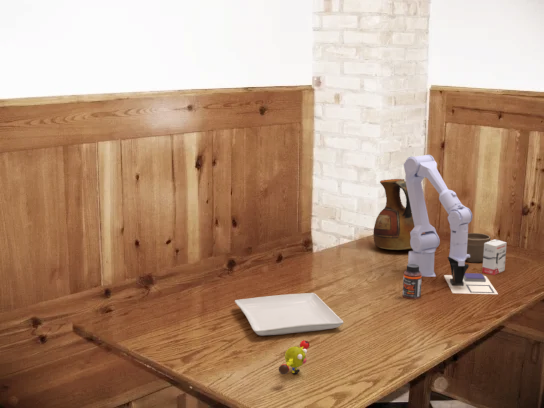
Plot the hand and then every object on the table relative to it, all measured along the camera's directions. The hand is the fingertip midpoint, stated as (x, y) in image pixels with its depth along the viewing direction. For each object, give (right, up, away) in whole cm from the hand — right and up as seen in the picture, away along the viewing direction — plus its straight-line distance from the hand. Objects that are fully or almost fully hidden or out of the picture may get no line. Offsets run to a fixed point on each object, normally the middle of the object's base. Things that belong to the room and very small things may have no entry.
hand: (456, 280), depth 238 cm
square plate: (-60, -9, -30) cm, 68 cm away
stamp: (0, -1, 0) cm, 1 cm away
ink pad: (+8, 0, +5) cm, 9 cm away
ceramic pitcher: (-12, +7, +48) cm, 50 cm away
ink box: (+17, +1, +14) cm, 23 cm away
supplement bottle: (-18, -5, -12) cm, 22 cm away
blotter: (+4, -2, 0) cm, 5 cm away
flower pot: (+15, +4, +30) cm, 34 cm away
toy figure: (-59, -16, -66) cm, 90 cm away
